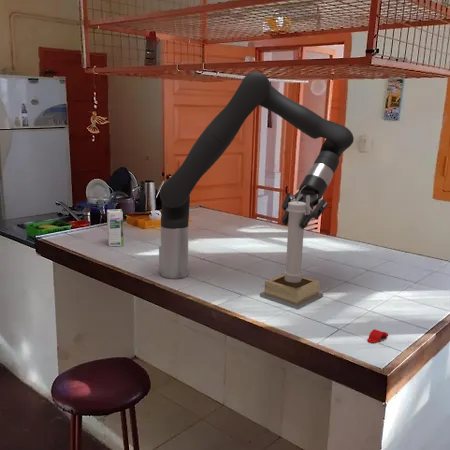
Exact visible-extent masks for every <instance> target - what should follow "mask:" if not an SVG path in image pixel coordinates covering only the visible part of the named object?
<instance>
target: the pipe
mask: <svg viewBox="0 0 450 450" xmlns="http://www.w3.org/2000/svg"><path fill="white" fill-rule="evenodd" d="M305 186H306V185H305ZM305 186H304V187H305ZM304 187H303V188H304ZM303 188H302V189H303ZM302 189H301V190H302ZM301 190H300V192H301ZM300 192H299V194H300ZM298 198H299V195H298ZM288 212H289V220H288V224H287V239H286V240H287V242H286V243H287V244H286V261H285V270H284V273H283V274H285V281H287V282H290V283H298V282H301V280H302V277H303V271H302V264H303V251H304V249H303V248H304V233H305V231H304V230H305V228H304V229H301V228H300V226H299V224H300V222H301V220H302V218H303V217H304V215H306V203H304V202H299V201H298V199H297V201H294V200H293V202H289V203H288Z"/></svg>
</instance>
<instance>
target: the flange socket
mask: <svg viewBox="0 0 450 450" xmlns="http://www.w3.org/2000/svg"><path fill="white" fill-rule="evenodd" d="M320 284H321V283H320V281H319V280H315V279H312V278H309V277H305V276H302V280H301V282H298V283H290V282H287V281H285V274H284V273H282V274H280V275H278V276H274V277H272V278H270V279H267V280H264V291H263V292H260V293H259V297H260V298H263V299H265V300H268V301H271V302H276V303H277V304H281V305H284V306H287V307H290V308H291V309H292V308H293V309H296V310H299V309H301V308H303V307H306V306H308V305H310V304H311V303H313V302H316V301H317V300H319V299H321V298H323V297H324V293H323V292H320Z"/></svg>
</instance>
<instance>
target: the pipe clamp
mask: <svg viewBox="0 0 450 450" xmlns="http://www.w3.org/2000/svg"><path fill="white" fill-rule="evenodd" d="M388 336H389V333H388V332H385V331H380V330H378V329H372V330H371V331H370V332H369V335H368V338H367V340H366V342H368V343H369V344H377V343H380V340H381V338H384V339H387V338H388Z"/></svg>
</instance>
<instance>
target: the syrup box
mask: <svg viewBox="0 0 450 450" xmlns="http://www.w3.org/2000/svg"><path fill="white" fill-rule="evenodd" d="M123 214H124V213H123V210H122V208H120V209H119V208H118V209H107V210H106V217H107V218H106V220H107V221H106V223H107V225H106V226H107V244H108V246H109V247H123V246H124V216H123Z"/></svg>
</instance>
